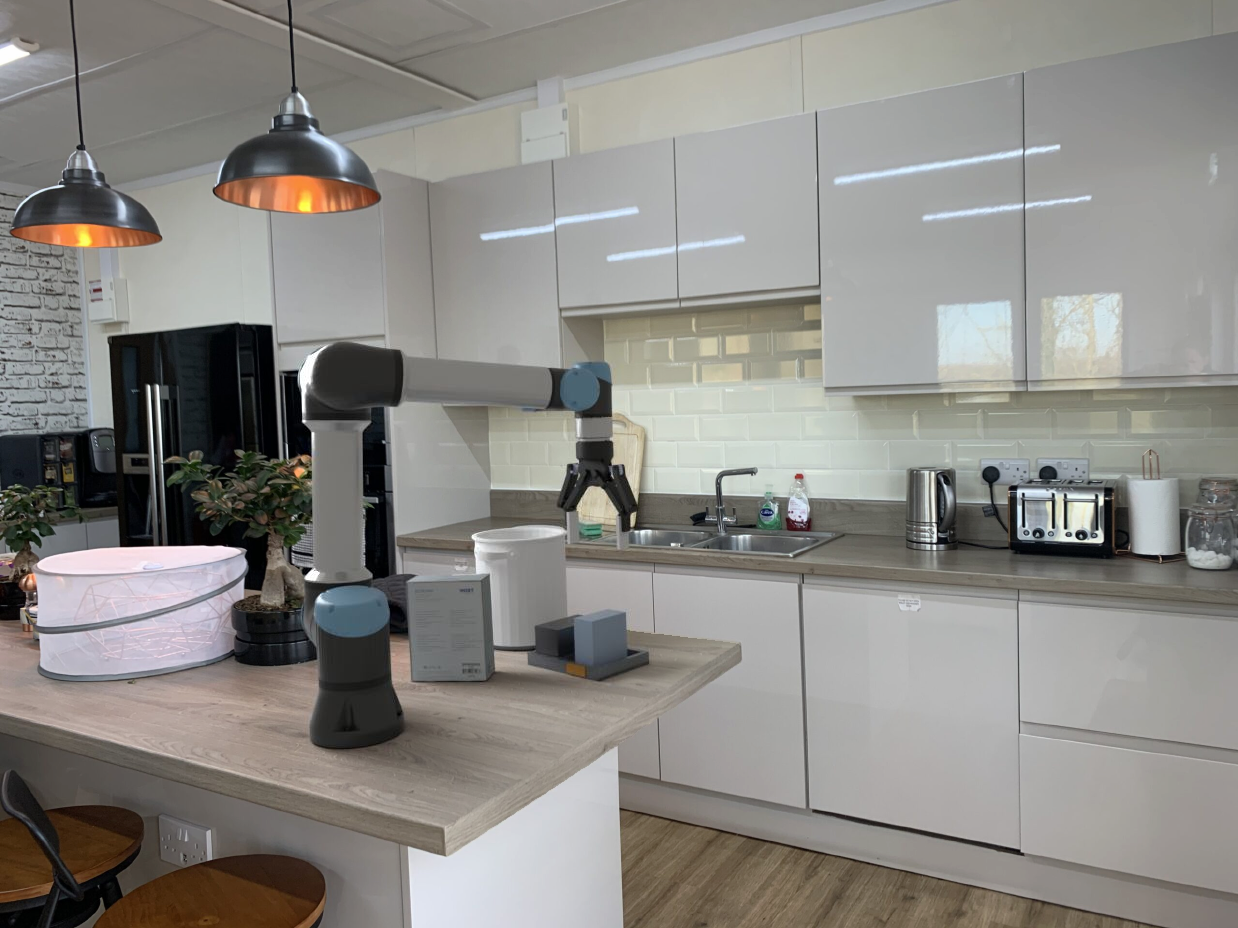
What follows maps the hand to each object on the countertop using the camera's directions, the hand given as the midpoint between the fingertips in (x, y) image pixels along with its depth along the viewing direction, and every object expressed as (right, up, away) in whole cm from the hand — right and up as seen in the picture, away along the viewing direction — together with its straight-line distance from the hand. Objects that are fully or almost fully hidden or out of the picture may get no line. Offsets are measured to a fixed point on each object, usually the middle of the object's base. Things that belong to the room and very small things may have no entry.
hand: (597, 545), depth 187 cm
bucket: (-17, -24, +26) cm, 39 cm away
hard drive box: (-29, -26, -2) cm, 39 cm away
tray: (-2, -25, +4) cm, 25 cm away
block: (+1, -24, +1) cm, 24 cm away
